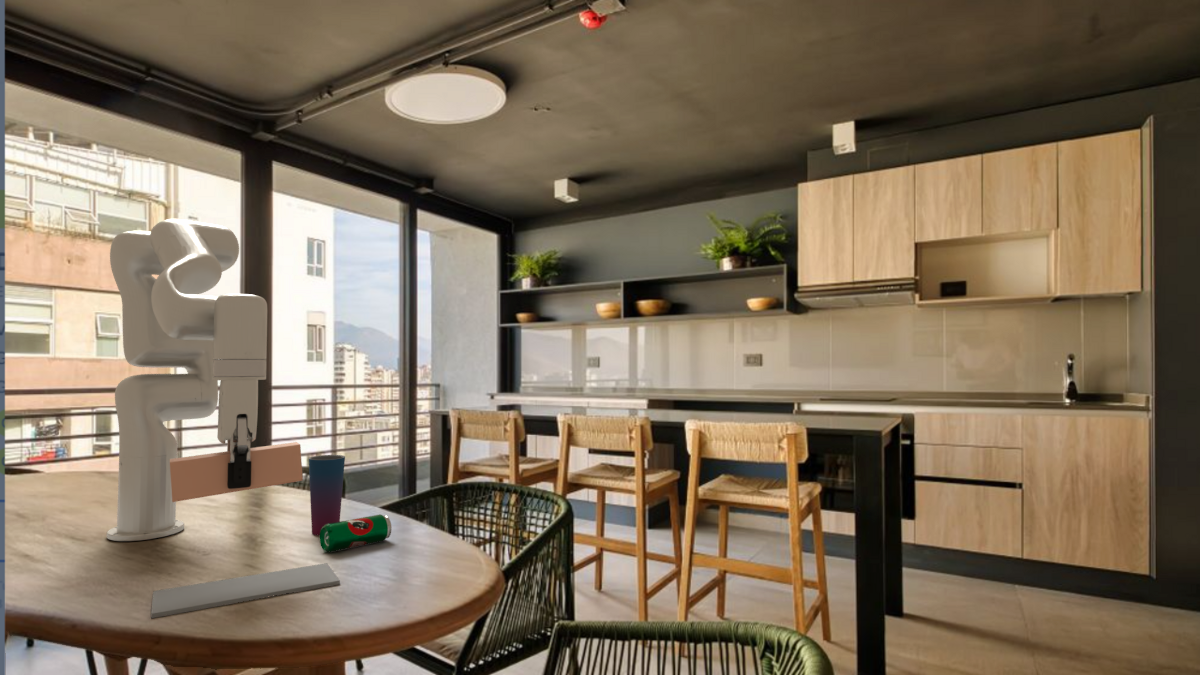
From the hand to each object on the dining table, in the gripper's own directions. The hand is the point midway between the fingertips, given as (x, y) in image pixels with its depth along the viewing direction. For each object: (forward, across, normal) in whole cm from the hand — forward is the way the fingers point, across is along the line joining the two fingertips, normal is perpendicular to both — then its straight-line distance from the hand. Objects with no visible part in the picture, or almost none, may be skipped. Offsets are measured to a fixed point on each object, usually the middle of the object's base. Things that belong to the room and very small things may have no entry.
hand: (237, 484), depth 103 cm
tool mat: (+15, +7, +1) cm, 16 cm away
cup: (+15, -21, +17) cm, 31 cm away
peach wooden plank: (+1, 0, 0) cm, 1 cm away
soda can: (+12, -6, +14) cm, 20 cm away
